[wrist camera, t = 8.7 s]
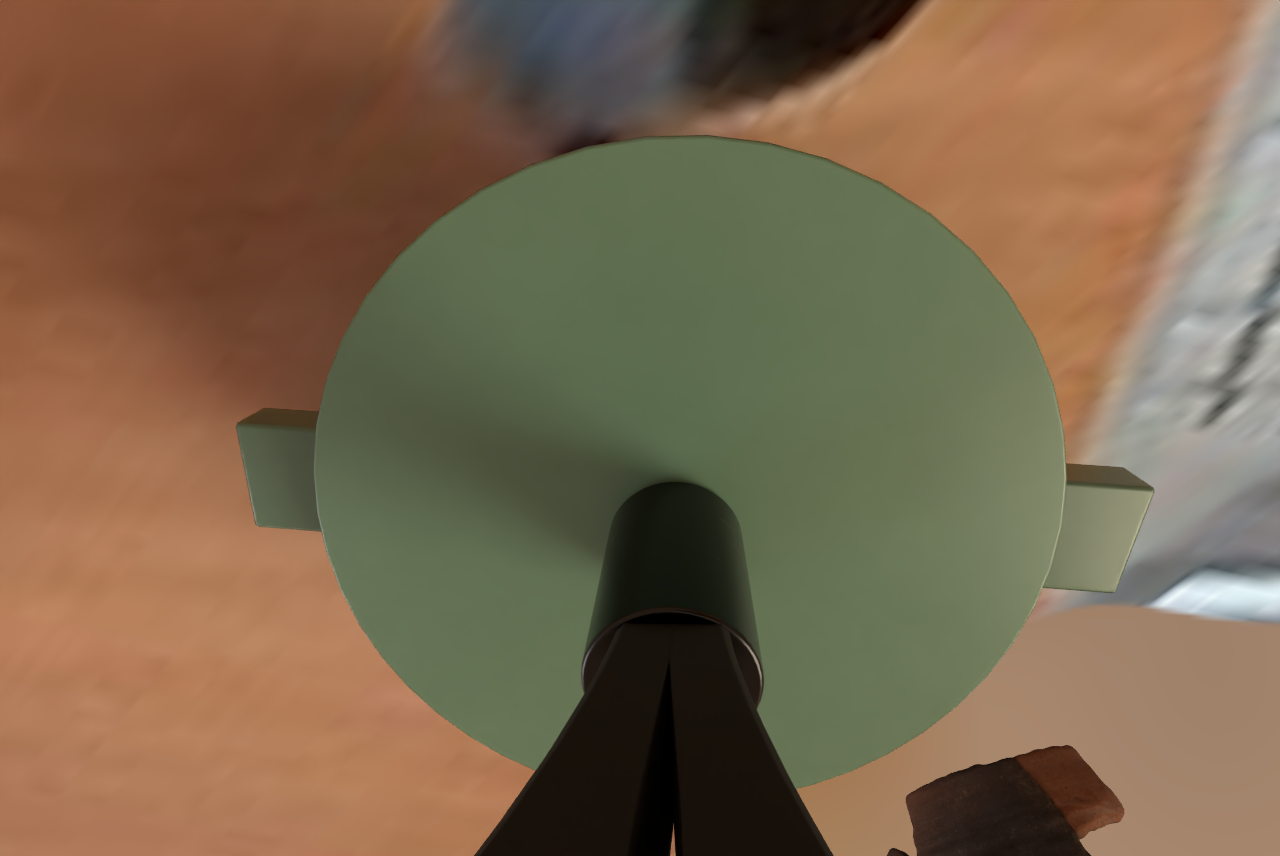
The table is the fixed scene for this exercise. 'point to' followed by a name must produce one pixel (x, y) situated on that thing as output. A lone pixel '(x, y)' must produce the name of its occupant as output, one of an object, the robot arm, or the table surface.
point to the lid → (691, 446)
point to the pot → (1084, 560)
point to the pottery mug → (1012, 808)
